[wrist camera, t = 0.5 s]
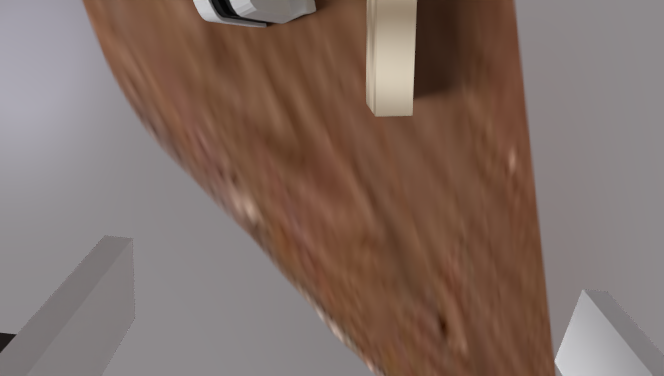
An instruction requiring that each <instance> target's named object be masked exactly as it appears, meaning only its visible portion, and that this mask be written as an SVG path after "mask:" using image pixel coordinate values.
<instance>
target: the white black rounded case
mask: <svg viewBox="0 0 664 376" xmlns="http://www.w3.org/2000/svg"><path fill="white" fill-rule="evenodd" d="M193 1H194V3H195V6H196V8H197V10H198V12H199V14H200V15H201V16H202V18H203V19H205V20H206V21H211V22H219V23H226V24H234V25H242V26H250V27H267V26H266V23H268V22H274V23H281V24H283V23H286V22H288V21H290V20H292V19H295V18H297V17H299V16H301V15H304V14H310V13H312V12H315V11H316V7H315V1H314V0H193Z"/></svg>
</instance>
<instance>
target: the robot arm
mask: <svg viewBox="0 0 664 376" xmlns="http://www.w3.org/2000/svg"><path fill="white" fill-rule="evenodd" d="M132 241H133V240H132V238H123V237H114V236H104V237H103V238H102V239H101V240H100V242H99V243H98V244H97V245H96V246H95V247H94V248H93V249H92V251H91V252H90V253H89V254H88V255H87V256H86V257H85V259H84V260H83V261H82V262H81V263H80V264H79V265H78V266H77V268H76V269H75V270H74V271H73V272H72V273H71V274H70V275H69V276H68V278H67V279H66V280H65V281H64V282H63V283H62V284H61V286H60V287H59V288H58V289H57V290H56V291H55V292H54V293H53V294H52V296H51V297H50V298H49V299H48V300H47V301H46V302H45V304H44V305H43V306H42V307H41V308H40V309H39V310H38V311H37V312H36V314H35V315H34V316H33V317H32V318H31V319H30V320H29V322H28V323H27V324H26V325H25V326H24V327H23V328H22V329H21V331H20V332H19V333H18V334H7V333H0V376H101V375H102V374H103V372H104V370H105V369H106V367H107V365H108V364H109V362H110V360H111V358H112V357H113V355H114V353H115V352H116V350H117V348H118V346H119V345H120V343H121V341H122V339H123V338H124V336H125V334H126V333H127V331H128V329H129V328H130V326H131V324H132V322H133V321H134V319H135V299H134V269H133V242H132ZM555 363H556V365H557V367H558V369H559V370H560V372H561V374H562V375H563V376H664V355H663V354H662V353H661V351H660V350H659V349H658V348H657V347H656V346H655V345H654V344H653V342H652V341H651V340H650V339H649V338H648V337H647V336H646V335H645V333H644V332H643V331H642V330H641V329H640V328H639V327H638V325H637V324H636V323H635V322H634V321H633V320H632V319H631V318H630V316H629V315H628V314H627V313H626V312H625V311H624V310H623V308H622V307H621V306H620V305H619V304H618V303H617V302H616V300H615V299H614V298H613V297H612V296H611V295H610V294H609V293H608V292H605V291H596V290H587V289H583V290H582V293H581V295H580V298H579V300H578V303H577V305H576V308H575V310H574V313H573V316H572V318H571V321H570V323H569V326H568V328H567V331H566V334H565V336H564V339H563V341H562V344H561V346H560V349H559V351H558V354H557V357H556V359H555Z"/></svg>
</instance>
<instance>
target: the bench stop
mask: <svg viewBox="0 0 664 376" xmlns="http://www.w3.org/2000/svg"><path fill="white" fill-rule="evenodd" d="M416 9H417V0H367V54H366V103H367V105H368V106H369V108H370V109H371V110H372V112H373V113H374V115H375V116H412V111H413V86H414V60H415V35H416Z"/></svg>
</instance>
